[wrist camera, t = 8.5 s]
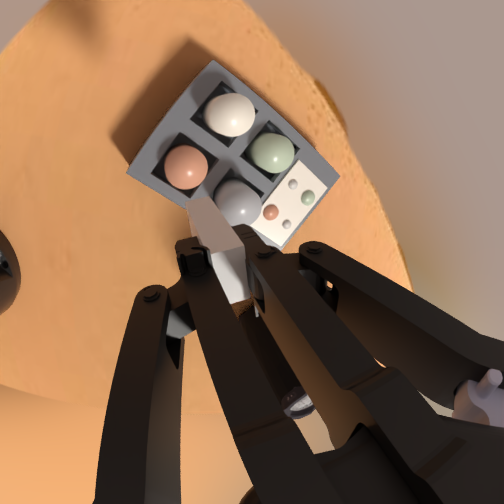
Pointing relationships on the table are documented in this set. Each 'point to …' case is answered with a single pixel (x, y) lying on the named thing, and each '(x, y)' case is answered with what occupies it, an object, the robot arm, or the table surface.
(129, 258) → the table surface
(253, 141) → the button sage
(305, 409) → the portable speaker
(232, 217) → the button grey
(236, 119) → the button ivory
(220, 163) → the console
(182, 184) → the button terracotta
